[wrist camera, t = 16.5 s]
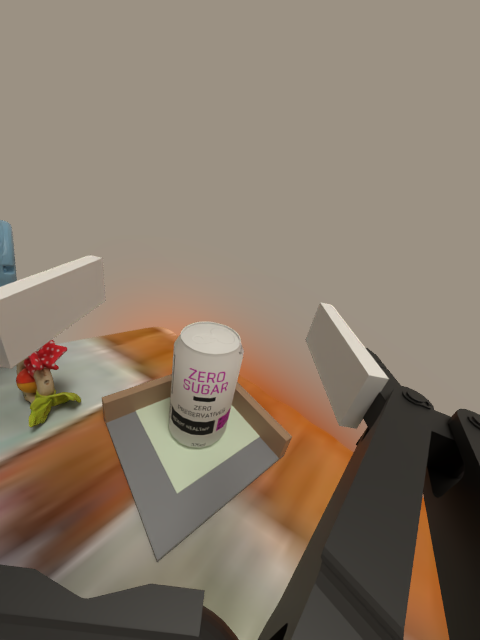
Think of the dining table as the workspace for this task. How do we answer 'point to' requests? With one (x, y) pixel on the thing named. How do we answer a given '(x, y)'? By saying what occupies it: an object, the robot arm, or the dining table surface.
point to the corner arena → (186, 459)
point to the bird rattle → (41, 382)
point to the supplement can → (203, 382)
